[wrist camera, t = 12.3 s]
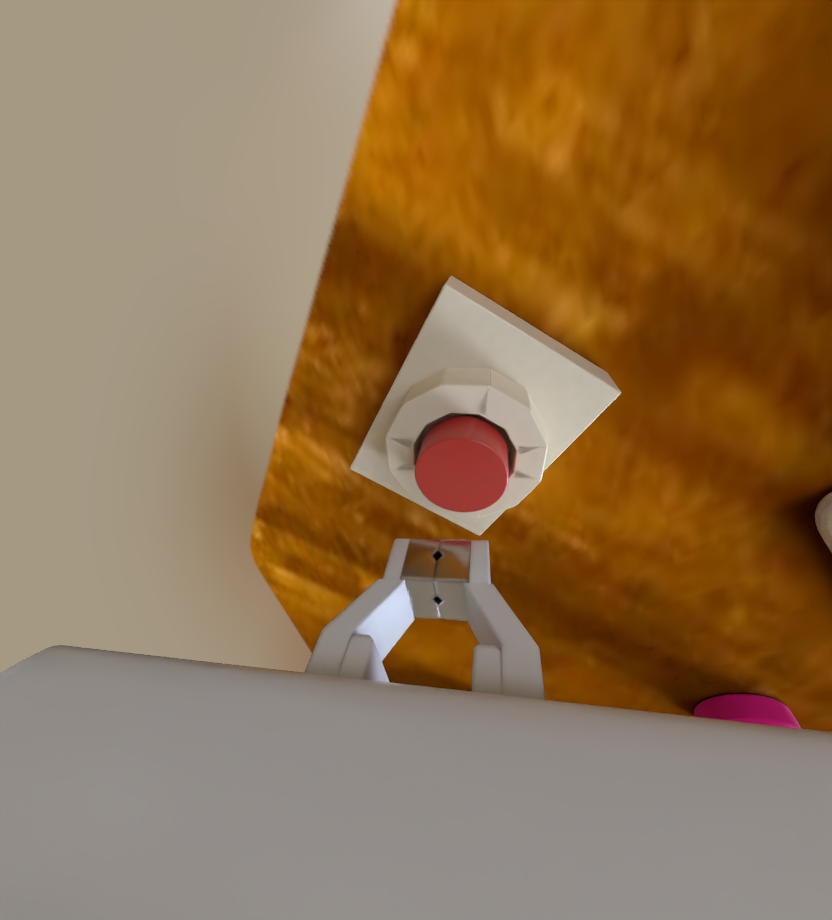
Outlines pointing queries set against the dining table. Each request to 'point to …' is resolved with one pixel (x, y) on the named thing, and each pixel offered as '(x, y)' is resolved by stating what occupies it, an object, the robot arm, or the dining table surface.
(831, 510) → the puzzle board
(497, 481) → the button
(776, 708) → the pepper mill
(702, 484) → the dining table surface
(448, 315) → the button block
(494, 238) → the dining table surface
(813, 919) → the robot arm
